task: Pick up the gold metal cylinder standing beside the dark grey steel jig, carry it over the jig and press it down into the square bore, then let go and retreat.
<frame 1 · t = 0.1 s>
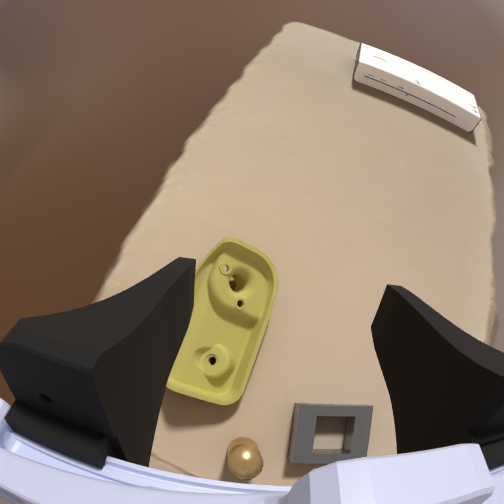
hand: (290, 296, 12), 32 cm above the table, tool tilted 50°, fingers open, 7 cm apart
gold metal cylinder: (242, 451, 36), on the table
jig: (327, 432, 37), on the table
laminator: (413, 93, 67), on the table
plastic component: (220, 328, 43), on the table
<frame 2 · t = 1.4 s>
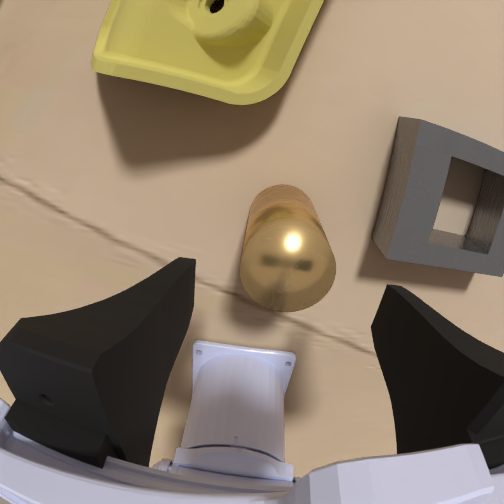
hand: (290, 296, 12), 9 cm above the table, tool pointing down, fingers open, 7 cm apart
gold metal cylinder: (282, 216, 20), on the table
jig: (450, 195, 18), on the table
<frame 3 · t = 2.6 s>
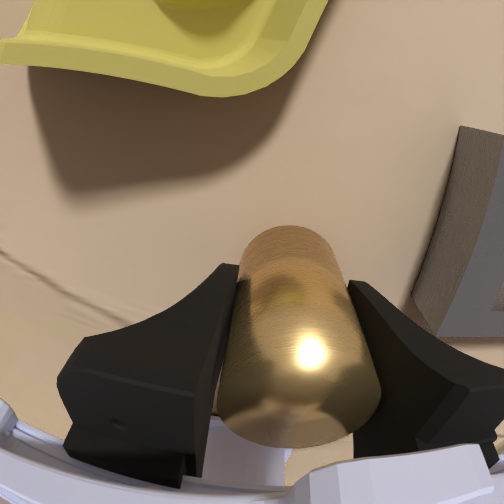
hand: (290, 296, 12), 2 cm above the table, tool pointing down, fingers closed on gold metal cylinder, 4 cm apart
gold metal cylinder: (288, 270, 13), on the table, touching gripper
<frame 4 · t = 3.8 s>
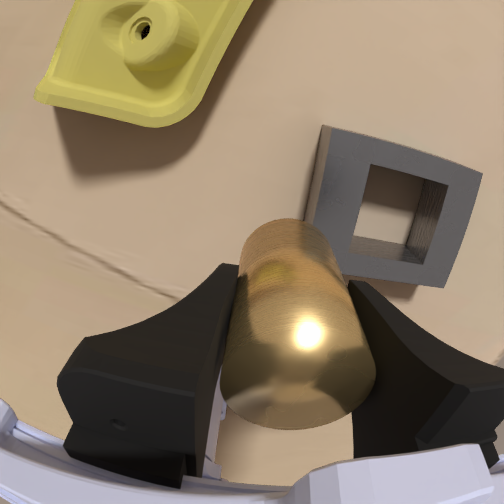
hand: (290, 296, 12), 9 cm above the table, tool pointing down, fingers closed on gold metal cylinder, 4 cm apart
gold metal cylinder: (286, 262, 14), point 7 cm above the table, touching gripper
jig: (383, 202, 19), on the table
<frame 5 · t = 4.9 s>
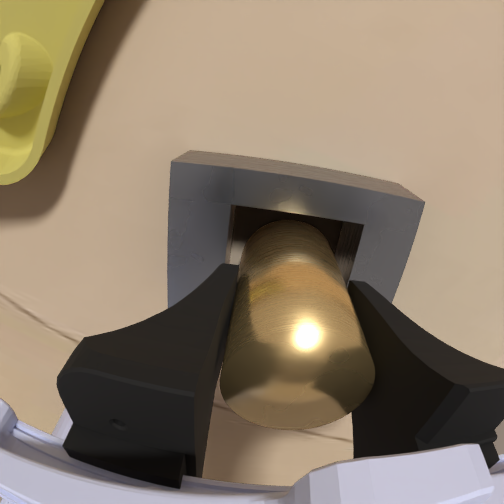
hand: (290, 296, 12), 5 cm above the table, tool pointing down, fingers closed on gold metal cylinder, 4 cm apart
gold metal cylinder: (287, 263, 14), point 2 cm above the table, touching gripper
jig: (285, 244, 16), on the table
when the fingers open (3 cm above the table, at t = 5.5 s): gold metal cylinder stays where it is, resting in jig.
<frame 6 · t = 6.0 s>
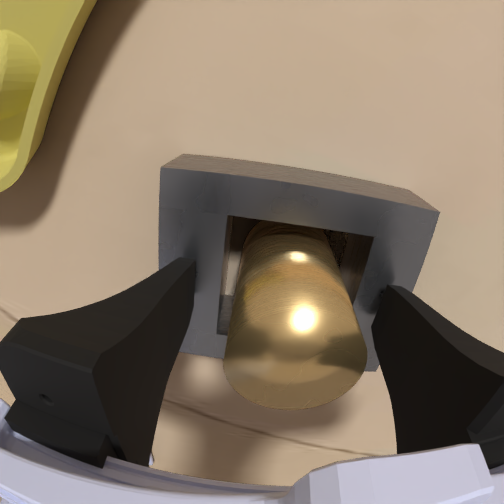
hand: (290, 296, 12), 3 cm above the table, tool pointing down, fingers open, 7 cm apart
gold metal cylinder: (286, 255, 15), resting in jig
jig: (286, 255, 15), on the table
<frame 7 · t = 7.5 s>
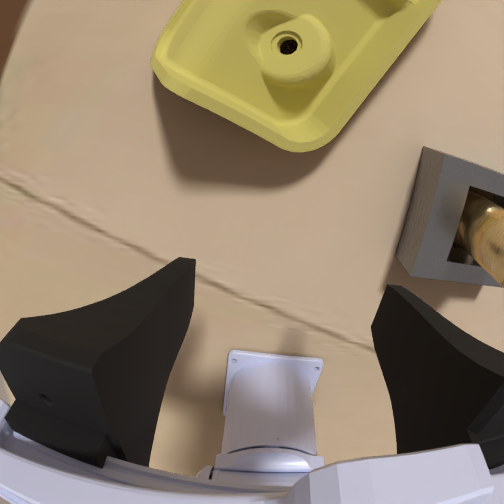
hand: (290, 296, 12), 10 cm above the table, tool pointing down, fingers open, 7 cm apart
gold metal cylinder: (464, 215, 20), resting in jig
jig: (464, 215, 20), on the table
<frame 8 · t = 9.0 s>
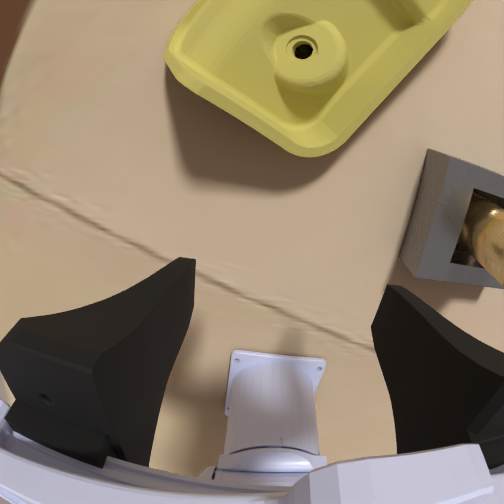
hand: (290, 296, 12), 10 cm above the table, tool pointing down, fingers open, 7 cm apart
gold metal cylinder: (467, 217, 20), resting in jig
jig: (467, 217, 20), on the table
plastic component: (335, 3, 15), on the table
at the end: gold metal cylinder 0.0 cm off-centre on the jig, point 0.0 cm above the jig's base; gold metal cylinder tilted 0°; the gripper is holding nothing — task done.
